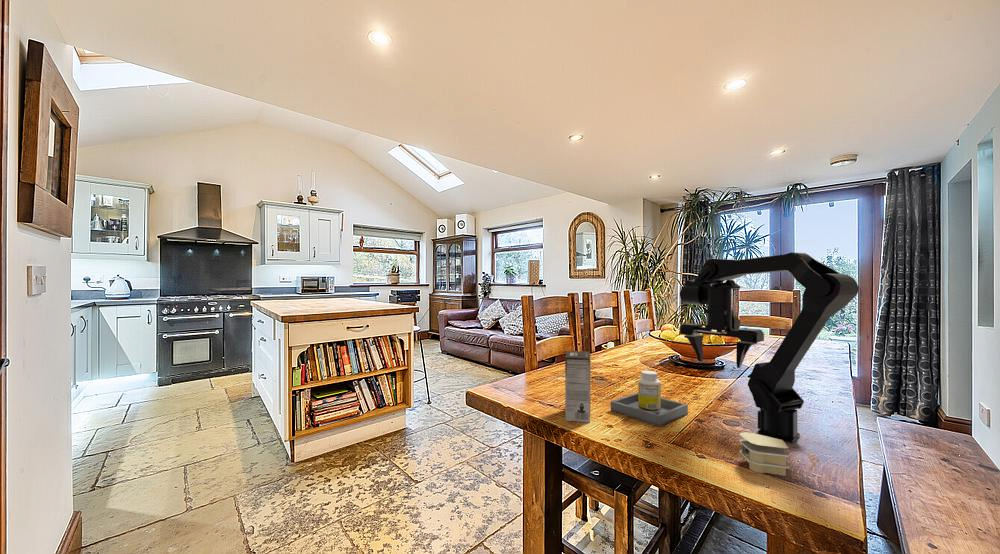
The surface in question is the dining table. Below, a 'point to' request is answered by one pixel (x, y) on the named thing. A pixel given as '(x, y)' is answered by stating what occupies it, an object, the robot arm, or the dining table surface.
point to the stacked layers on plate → (764, 453)
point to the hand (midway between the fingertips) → (719, 364)
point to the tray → (666, 415)
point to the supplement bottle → (649, 392)
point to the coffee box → (577, 386)
